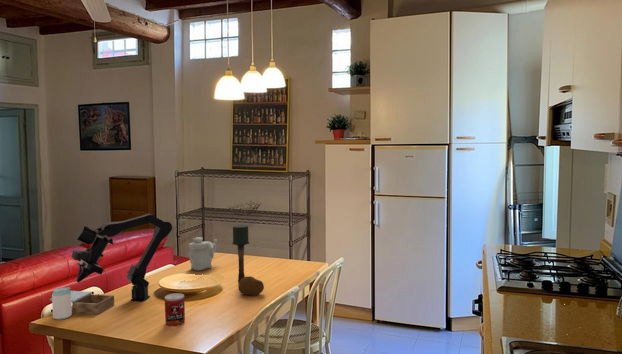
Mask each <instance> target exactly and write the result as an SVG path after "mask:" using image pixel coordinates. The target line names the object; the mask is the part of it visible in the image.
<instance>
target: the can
mask: <svg viewBox="0 0 622 354" xmlns="http://www.w3.org/2000/svg"><path fill="white" fill-rule="evenodd" d="M67 287H68V286H67ZM67 287H66V286H65V287H64V286H63V287H57V288H55V289H54V290H53V292H52V294H51V298H52V301H51V304H52V318H53V319H55V320H57V321H59V320H66V319H69V318H70V317H71V316H72V315H73V308H72V302H71V291H72V290H71V289H70V290H69V288H67Z"/></svg>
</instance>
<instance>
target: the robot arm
mask: <svg viewBox="0 0 622 354" xmlns="http://www.w3.org/2000/svg"><path fill="white" fill-rule="evenodd" d="M146 224H150V225H151V226H153V227H154V229H153V235H152V238H151V239H150V241H149V243H148V245H147V246H146V248H145V250H144V252H143V253H142V255H141V256H140V258H139V261H138V262H137V263H136V264H135V265H133V264H131V265H130V268H129V269H128V271H127V272H126V273H127V275H126V278H127V281H128V282H129V283H131V285H132V286H131V298H130V301H134V302H135V301H137V302H144V301H145V300H146V301H147V299H149V298H150V297H151V295H149V285H150V282H149V281H147V279H145V277H146V273H147V268H148V266H149V265H150V262H151V261H152V259H153V258H154V255H155V254H156V253H157V250H158V249H159V247H160V245H161V243H162V241H164V239H165V238H167V237H168V236H169V234H170V233H171V232H172V230H173V225H172V223H171V222H170V221H167V220H163V219H160V218H158V217H156V216H155V215H154V214H150V213H145V214H144V215H140V216H136V217H133V218H129V219H126V220H121V221H109V222H104V223H103V224H102V225H101V226H100V227H98V228H95V229H92V228H89V227H88V226H86V225H83V226H82V228H80V230H78V231H77V233H76V235H75V237H74V239H75V240H76V241H78V242H81V243H82V244H85V245H87V246H89V245H90V247H87V248H86V249H84V250H83V249H82V250H81V249H73V250H72V253H71V258H72V259H73V260H74V261H78V262H77V265H78V273H77V277H76V282H77V283H81V281H83V280H85V279H86V278H87V277H89V276H91V275H92V274H93V273H96V274H98V275H103V273H104V271H105V269H104V268H103V266H100V265H99V260H100V259H101V258H103V256H104V252H105V250H106V248H107V247H108V245H109V244H110V245H114V244H115V243H114V241H113V238H112V237H115V236H116V235H119V234H121V233H122V232H124V231H125V230H129V229H134V228H136V227H140V226H143V225H146Z"/></svg>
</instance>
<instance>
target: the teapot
mask: <svg viewBox="0 0 622 354" xmlns="http://www.w3.org/2000/svg"><path fill="white" fill-rule="evenodd" d="M203 239H204V238H203V236H202V237H199V236H196V237H195V238H194V237H193V238H192V241H193V242H191V243H188V248H189V251H188V258H189V262H190V268H191V270H193V269H194V271H199V272H200V271H204V270H207V269H211V268H212V267H213V266H212V261H213V259H214V254H215V253H216V251H217V247H218V239H217V238H215V239H213V242H212V241H203Z"/></svg>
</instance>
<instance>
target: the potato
mask: <svg viewBox="0 0 622 354" xmlns="http://www.w3.org/2000/svg"><path fill="white" fill-rule="evenodd" d="M264 289H265V285H264V283H263V281H262V280H259V279H257V278H255V277H253V276H250V275H249V276H245V277H243V278H242V279H241V280H240V282H239V283H238V292H240V293H241V294H244V295H246V296H249V297H250V296H251V297H252V296H257V295H260V294H261V293H262V292H263V291H264Z"/></svg>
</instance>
